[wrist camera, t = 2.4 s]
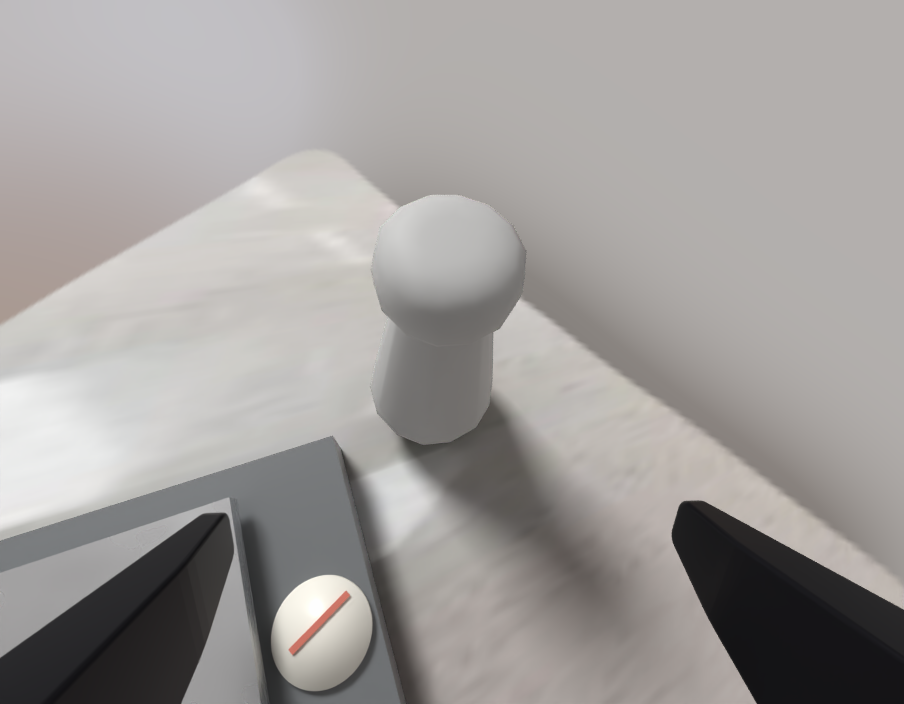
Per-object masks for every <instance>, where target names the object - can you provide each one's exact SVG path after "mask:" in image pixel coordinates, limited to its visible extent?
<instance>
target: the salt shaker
mask: <svg viewBox="0 0 904 704" xmlns="http://www.w3.org/2000/svg"><path fill="white" fill-rule="evenodd" d="M525 263H526V250H525V248H524V246H523V244H522V242H521V240H520V238H519V236H518V234H517V232H516V230H515V228H514V226H513V225H512V224H511V223H510V222H509V221H507V220H506V219H505V218H504V217H503V216H501V215H500V214H499V213H498V212H497V211H496V210H494V209H493V208H492V207H491V206H489V205H487V204H484V203H482V202H478V201H476V200H473V199H470V198H467V197H464V196H461V195H429V196H426V197H424V198H421V199H419V200H417V201H414V202H411V203H409V204H407V205H404V206H401V207H399V208H398V209H397V211H396V212H395V213H394V214H393V215H392V216H391V217H390V218H389V219H388V220H387V221H386V222H385V223H384V224H383V225H382V226H381V227H380V228H379V233H378V237H377V241H376V246H375V250H374V254H373V260H372V266H371V273H372V278H373V282H374V286H375V289H376V293H377V296H378V299H379V303H380V306H381V309H382V311H383V312H384V313H385V315H386V316H387V320H386V324H385V328H384V331H383V335H382V339H381V343H380V347H379V351H378V354H377V358H376V362H375V367H374V371H373V376H372V381H371V386H370V389H371V392H372V396H373V400H374V403H375V407H376V411H377V414H378V415H379V416H380V417H381V418H382V419H383V420H384V421H385V422H386V423H387V424H388V425H389V427H390V428H391V429H392V430H393V431H394V432H395V433H396V434H397V435H399V436H402V437H404V438H407V439H409V440H412V441H414V442H417V443H419V444H422V445H427V444H437V443H447V442H451V441H453V440H455V439H457V438H459V437H460V436H462V435H464V434H466V433H467V432H469V431H471V430H473V429H474V428H476V427H477V425H478V423H479V422H480V420H481V418H482V417H483V415H484V413H485V412H486V410H487V408H488V407H489V405H490V397H491V388H492V374H493V332H494V331H496V330H498V329H500V328H501V326H502V325H503V323H504V322H505V320H506V318H507V317H508V315H509V314H510V312H511V311H512V309H513V308H514V306H515V305H516V303H517V302H518V300H519V298H520V297H521V295H522V292H523V285H524V277H525Z"/></svg>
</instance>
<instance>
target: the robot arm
mask: <svg viewBox="0 0 904 704" xmlns="http://www.w3.org/2000/svg"><path fill="white" fill-rule="evenodd" d="M672 541H673V544H674V546H675V549H676V551H677V553H678V555H679V557H680V559H681V562H682V564H683V566H684V568H685V570H686V572H687V574H688V577H689V579H690V581H691V583H692V585H693V587H694V590H695V592H696V594H697V596H698V598H699V600H700V602H701V605H702V607H703V609H704V611H705V613H706V615H707V617H708V619H709V621H710V622H711V624H712V626H713V628H714V630H715V632H716V633H717V635H718V637H719V639H720V640H721V642H722V644H723V646H724V647H725V649H726V651H727V653H728V654H729V656H730V658H731V659H732V661H733V663H734V665H735V666H736V668H737V670H738V672H739V673H740V675H741V677H742V679H743V680H744V682H745V684H746V686H747V687H748V689H749V691H750V693H751V694H752V696H753V698H754V700H755V701H756V703H757V704H904V610H903V609H902V608H900V607H898V606H896V605H894V604H892V603H890V602H889V601H887V600H885V599H883V598H881V597H879V596H878V595H876V594H874V593H872V592H870V591H868V590H866V589H865V588H863V587H861V586H859V585H857V584H855V583H854V582H852V581H850V580H848V579H846V578H844V577H843V576H841V575H839V574H837V573H835V572H833V571H831V570H830V569H828V568H826V567H824V566H822V565H820V564H819V563H817V562H815V561H813V560H811V559H809V558H808V557H806V556H804V555H802V554H800V553H798V552H796V551H795V550H793V549H791V548H789V547H787V546H785V545H784V544H782V543H780V542H778V541H776V540H774V539H773V538H771V537H769V536H767V535H765V534H763V533H761V532H760V531H758V530H756V529H754V528H752V527H750V526H749V525H747V524H745V523H743V522H741V521H739V520H738V519H736V518H734V517H732V516H730V515H728V514H727V513H725V512H723V511H721V510H719V509H717V508H715V507H714V506H712V505H710V504H708V503H706V502H704V501H699V500H698V501H684V502H682V503H681V504H680V505H679V508H678V512H677V515H676V518H675V522H674V525H673V529H672ZM233 556H234V543H233V537H232V531H231V525H230V519H229V516H228V515H227V514H226V513H224V512H215V513H203V514H201V515H199V516H198V517H197V518H195V519H194V520H192V521H191V522H190V523H188V524H187V525H185V526H184V527H183V528H181V529H180V530H178V531H177V532H175V533H174V534H173V535H171V536H170V537H168V538H167V539H166V540H164V541H163V542H161V543H160V544H159V545H157V546H156V547H154V548H153V549H152V550H150V551H149V552H147V553H146V554H145V555H143V556H142V557H140V558H139V559H138V560H136V561H135V562H133V563H132V564H131V565H129V566H128V567H126V568H125V569H124V570H122V571H121V572H119V573H118V574H117V575H115V576H114V577H112V578H111V579H110V580H108V581H107V582H105V583H104V584H103V585H101V586H100V587H98V588H97V589H95V590H94V591H93V592H91V593H90V594H88V595H87V596H86V597H84V598H83V599H81V600H80V601H79V602H77V603H76V604H74V605H73V606H72V607H70V608H69V609H67V610H66V611H65V612H63V613H62V614H60V615H59V616H58V617H56V618H55V619H53V620H52V621H51V622H49V623H48V624H46V625H45V626H44V627H42V628H41V629H39V630H38V631H37V632H35V633H34V634H32V635H31V636H30V637H28V638H27V639H25V640H24V641H23V642H21V643H20V644H18V645H17V646H15V647H14V648H13V649H11V650H10V651H8V652H7V653H6V654H4V655H3V656H1V657H0V704H181V703H182V700H183V698H184V696H185V693H186V691H187V689H188V686H189V684H190V682H191V679H192V677H193V675H194V672H195V670H196V668H197V665H198V663H199V660H200V658H201V655H202V653H203V650H204V648H205V645H206V642H207V639H208V636H209V633H210V630H211V627H212V624H213V621H214V618H215V614H216V611H217V608H218V605H219V602H220V598H221V595H222V592H223V589H224V586H225V583H226V579H227V576H228V573H229V570H230V567H231V563H232V560H233Z"/></svg>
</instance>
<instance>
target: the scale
mask: <svg viewBox="0 0 904 704" xmlns="http://www.w3.org/2000/svg"><path fill="white" fill-rule="evenodd" d="M228 497H231V498H234V499H237V503H238V509H239V515H240V522H241V528H242V534H243V540H244V547H245V553H246V559H247V566H248V572H249V578H250V585H251V591H252V597H253V603H254V610H255V616H256V622H257V629H258V635H259V641H260V648H261V654H262V660H263V666H264V673H265V679H266V685H267V692H268V698H269V704H406V700H405V696H404V693H403V689H402V685H401V681H400V677H399V673H398V669H397V665H396V661H395V658H394V654H393V650H392V646H391V642H390V638H389V634H388V630H387V627H386V623H385V619H384V615H383V611H382V607H381V603H380V599H379V595H378V592H377V588H376V584H375V580H374V576H373V572H372V568H371V564H370V561H369V557H368V553H367V549H366V545H365V541H364V537H363V533H362V530H361V526H360V522H359V518H358V514H357V510H356V506H355V502H354V498H353V495H352V491H351V487H350V483H349V479H348V475H347V471H346V467H345V464H344V460H343V456H342V452H341V448H340V446H339V445H338V443H337V442H336V440H335V439H334V437H333V436H330V437H327V438H324V439H321V440H318V441H314V442H311V443H308V444H305V445H302V446H299V447H295V448H292V449H289V450H286V451H283V452H280V453H276V454H273V455H270V456H267V457H264V458H261V459H258V460H254V461H251V462H248V463H245V464H242V465H239V466H235V467H232V468H229V469H226V470H223V471H220V472H216V473H213V474H210V475H207V476H204V477H201V478H197V479H194V480H191V481H188V482H185V483H182V484H178V485H175V486H172V487H169V488H166V489H163V490H159V491H156V492H153V493H150V494H147V495H144V496H140V497H137V498H134V499H131V500H128V501H125V502H121V503H118V504H115V505H112V506H109V507H106V508H102V509H99V510H96V511H93V512H90V513H87V514H83V515H80V516H77V517H74V518H71V519H68V520H64V521H61V522H58V523H55V524H52V525H49V526H45V527H42V528H39V529H36V530H33V531H30V532H27V533H23V534H20V535H17V536H14V537H11V538H8V539H4V540H1V541H0V573H1V572H4V571H7V570H10V569H13V568H16V567H19V566H22V565H25V564H29V563H32V562H35V561H38V560H41V559H44V558H47V557H50V556H53V555H56V554H59V553H62V552H65V551H68V550H71V549H74V548H77V547H80V546H83V545H86V544H89V543H92V542H95V541H98V540H101V539H104V538H107V537H110V536H113V535H116V534H119V533H122V532H125V531H128V530H131V529H134V528H137V527H140V526H144V525H147V524H150V523H153V522H156V521H159V520H162V519H165V518H168V517H171V516H174V515H177V514H180V513H183V512H186V511H189V510H192V509H195V508H198V507H201V506H204V505H207V504H210V503H213V502H216V501H219V500H222V499H225V498H228Z"/></svg>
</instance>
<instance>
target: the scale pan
mask: <svg viewBox="0 0 904 704" xmlns="http://www.w3.org/2000/svg"><path fill="white" fill-rule="evenodd" d="M215 512H224V513H226V514H227V515H228V516H229V519H230V525H231V531H232V537H233V543H234V556H233V560H232V563H231V567H230V570H229V573H228V576H227V579H226V583H225V586H224V589H223V592H222V595H221V598H220V602H219V605H218V608H217V611H216V614H215V618H214V621H213V624H212V627H211V630H210V633H209V636H208V639H207V642H206V645H205V648H204V650H203V653H202V655H201V658H200V660H199V663H198V665H197V668H196V670H195V672H194V675H193V677H192V679H191V682H190V684H189V686H188V689H187V691H186V693H185V696H184V698H183V700H182V703H181V704H269V698H268V692H267V685H266V679H265V673H264V666H263V660H262V654H261V648H260V641H259V635H258V629H257V622H256V616H255V610H254V603H253V597H252V591H251V585H250V578H249V572H248V566H247V559H246V553H245V547H244V540H243V534H242V528H241V522H240V515H239V509H238V503H237V499H234V498H231V497H228V498H225V499H222V500H219V501H216V502H213V503H210V504H207V505H204V506H201V507H198V508H195V509H192V510H189V511H186V512H183V513H180V514H177V515H174V516H171V517H168V518H165V519H162V520H159V521H156V522H153V523H150V524H147V525H144V526H140V527H137V528H134V529H131V530H128V531H125V532H122V533H119V534H116V535H113V536H110V537H107V538H104V539H101V540H98V541H95V542H92V543H89V544H86V545H83V546H80V547H77V548H74V549H71V550H68V551H65V552H62V553H59V554H56V555H53V556H50V557H47V558H44V559H41V560H38V561H35V562H32V563H29V564H25V565H22V566H19V567H16V568H13V569H10V570H7V571H4V572H1V573H0V657H1V656H3V655H4V654H6V653H7V652H8V651H10V650H11V649H13V648H14V647H15V646H17V645H18V644H20V643H21V642H23V641H24V640H25V639H27V638H28V637H30V636H31V635H32V634H34V633H35V632H37V631H38V630H39V629H41V628H42V627H44V626H45V625H46V624H48V623H49V622H51V621H52V620H53V619H55V618H56V617H58V616H59V615H60V614H62V613H63V612H65V611H66V610H67V609H69V608H70V607H72V606H73V605H74V604H76V603H77V602H79V601H80V600H81V599H83V598H84V597H86V596H87V595H88V594H90V593H91V592H93V591H94V590H95V589H97V588H98V587H100V586H101V585H103V584H104V583H105V582H107V581H108V580H110V579H111V578H112V577H114V576H115V575H117V574H118V573H119V572H121V571H122V570H124V569H125V568H126V567H128V566H129V565H131V564H132V563H133V562H135V561H136V560H138V559H139V558H140V557H142V556H143V555H145V554H146V553H147V552H149V551H150V550H152V549H153V548H154V547H156V546H157V545H159V544H160V543H161V542H163V541H164V540H166V539H167V538H168V537H170V536H171V535H173V534H174V533H175V532H177V531H178V530H180V529H181V528H183V527H184V526H185V525H187V524H188V523H190V522H191V521H192V520H194V519H195V518H197V517H198V516H199V515H201V514H203V513H215Z"/></svg>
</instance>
